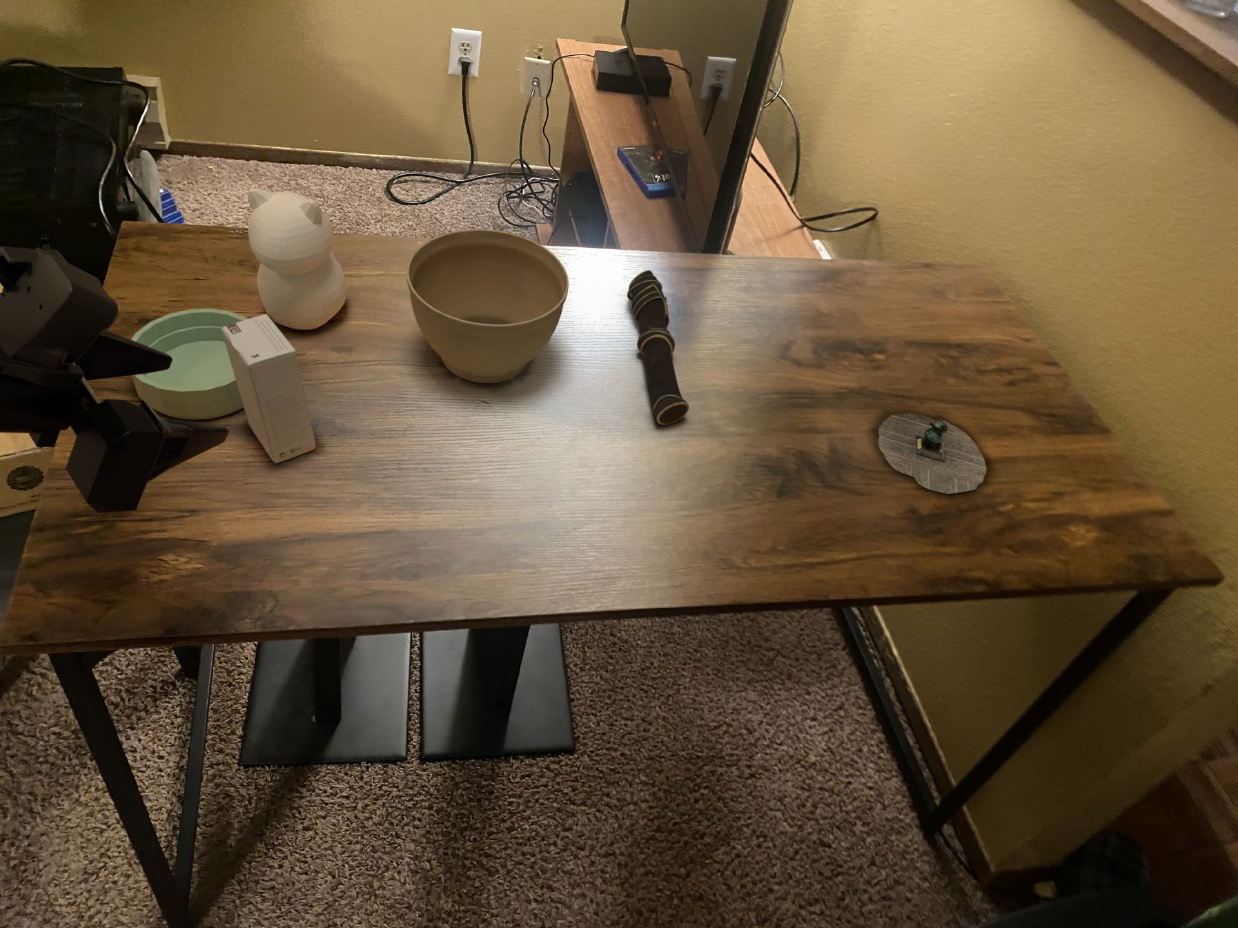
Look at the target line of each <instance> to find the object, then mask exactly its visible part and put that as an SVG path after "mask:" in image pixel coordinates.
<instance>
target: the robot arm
mask: <svg viewBox="0 0 1238 928" xmlns="http://www.w3.org/2000/svg"><path fill="white" fill-rule="evenodd" d="M0 285H1V286H2V290H1V292H0V433H1V434H2V433H3V434H4V433H5V434H28V435H29V437H30V438H31V440H32V442H33V443H34V445H35V447H36V448H56V444H57V442H58V439H59V436H60V433H61V431H67V430H68V429H69V428H70V427H71V430H72V431H73V433H74V434H75V436H76V438H75V440H74V443H73V446H72V448H71V451H70V454H69V457H68V460H67V463H66V466H65V470H66V472H67V473H68V475H69V476H70V478H71V480H72V481H73V483H74V484H75V487H76V488H77V489H78V491H79V493H80V495H81V497H82V498H83V499H84V501H85V503H86V504H87V505H89V506H90V507H91V508H92V509H93V510H94V511H95V512H96V513H97V514H109V513H110V514H111V513H129V512H134V511H137V509H138V506H139V504H140V501H141V499H142V497H143V494H144V492H145V489H146V487H147V485H148V483H150V482H152V481H153V480H155V479H156V478H158V477H160V476H161V475H162V474H164V473H166V472H167V471H169V470H171V469H173V468H175V467H177V466H179V465H181V464H182V463H185V462H187V461H189V460H190V459H193V458H195V457H197V456H199V455H201V454H204V453H205V452H208V451H209V450H211V449H213V448H215V447H217V446H220V445H222V444H224V443H225V442H226V440H227V438H228V436H229V434H230V430H229V429H228V428H227V426H222V425H217V424H212V423H205V422H197V421H190V420H182V419H171V418H163V417H160V416H159V415H158V414H157V412H156V411H155V409H153V408H151V407H150V406H149V404H148V403H147V402H146V401H145V400H142V399H141V401H140V404H139V405H137V404H135V403H132V402H130V401H128V400H125V399H112V398H111V399H110V398H105V399H104V400H100V398H99V396H98V395H97V393H96V392H95V391H94V389H93V388H92V386H91V385H90V384H89V381H96V380H97V381H98V380H104V379H112V378H122V377H131V375H139V374H147V373H153V372H158V371H163V370H167V369H169V368H170V366H171V363H172V360H173V359H172V357H171V356H170V355H169V354H166V353H164V352H161V351H158V350H156V349H153V348H151V347H148V346H146V345H143V344H141V343H138V342H135V341H133V340H131V338H128V337H125V336H123V335H120V334H118V333H115V332H113V331H110V330H109V329H110V327H112V325H113V324H114V323H115V322H116V319H117V318H118V314H119V306H118V303H117V302H116V300H115V299H114V298H113V297H111V296H110V295H109V293H108V292H107V291H106V290H105V288H104V287H103V286H102V283H101V281H100V280H99V279H98V277H96V276H94V275H93V274H90V273H88V272H86V271H85V270H82V269H80V268H78V267H76V266H75V265H73V264H70V263H69V262H67V260H66V259H65V258H64V257H63V255H62V254H61V253H60V252H59V251H58V250H57V249H53V248H52V249H51V248H49V249H47V250H44V249H42V248H40V247H36V248H35V249H33V248H27V247H15V246H13V247H12V246H3V245H2V246H0Z"/></svg>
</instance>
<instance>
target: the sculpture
mask: <svg viewBox="0 0 1238 928" xmlns="http://www.w3.org/2000/svg"><path fill="white" fill-rule="evenodd" d="M877 433H878V436H879V437H878V438H877V445H878V447H879V450H880V452H881V453H882V454H883V455H884V458H885V460H886V461H887V462H888V464H889V465H890V466H891V467H892V468H893V470H895V471H896V472H899V473H901V474H904V475H907V476H910V477H913V478H914V479H915V481H916V483H917V484H918V485H919V486H920V487H923V488H924V489H927V490H930V491H934V492H937V493H941V494H946V495H950V494H959V493H964V492H969V491H976V489H977V488H978V487H979V486H980V484H982V483H983V482H984V478H985V476H986V474H987V464H986V461H985V459H984V456H983V454H982V453H981V450H980V449H979V447H978V446H977V444H976V443H975V442H974V440H973V439H972V438H971V437H970V436H969V435H968V434H967V433H966V432H965V431H963V430H962V429H960V428H959V427H957V426H955V425H953V424H951V423H950V422H948V421H946V420H943V419H938V420H935V419H934V418H932V417H929V416H926V415H922V414H918V413H912V412H909V413H900V414H892V415H889V416H888V417H887V418H886V419H885V420H883V422H882V423H881V425H879V428H878V430H877Z"/></svg>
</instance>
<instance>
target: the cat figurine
mask: <svg viewBox="0 0 1238 928" xmlns="http://www.w3.org/2000/svg"><path fill="white" fill-rule="evenodd" d="M247 200H248V203H249V207H250V208H251V213H250V216H249V220H248V227H247V229H248V230H247V234H248V242H249V246H250V249H251V252H252V253H253V255H254V257H255V258H256V260H257V261H258V262H260V263H259V267H258V271H257V275H256V284H257V290H258V294H259V298H260V301H261V303H262V305H263V307H264V309H265V312H266V314H267V315H268V316H269V318H270V319H271V320H272V321H273V322H276V323H277V324H279V325H281V326H284V327H287V328H290V329H293V330H302V331H303V330H304V331H305V330H306V331H307V330H308V331H309V330H310V331H311V330H314V329H315V330H316V329H317V328H319V327H321V326H323V325H325V324H326V323H328V321H330V320H331V319H332V318H333V317H334V316H335V315H336V314H337V313H339V311H340V310H341V309H342V307H343V306H344V305H345V302H346V300H347V299H346V298H347V293H348V292H347V282H346V281H347V280H346V277H345V273H344V270H343V268H342V266H341V264H340V262H339V261H338V260H337V259H336V257H335V241H334V240H335V239H334V237H335V236H334V231H333V227H332V223H331V220H330V219H329V217H328V216H327V215H326V213H324V211H323V210H322V208H321V206H320V205H319V203H318V202H317V201H316V200H314V199H312V198H309V197H307V196H306V195H303V194H300V193H298V192H295V191H278V192H277V191H276V192H274V193H271V192H270V191H268V190H265V189H262V188H257V187H256V188H253V187H252V188H251V187H250V188H249V189H248V191H247Z"/></svg>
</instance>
